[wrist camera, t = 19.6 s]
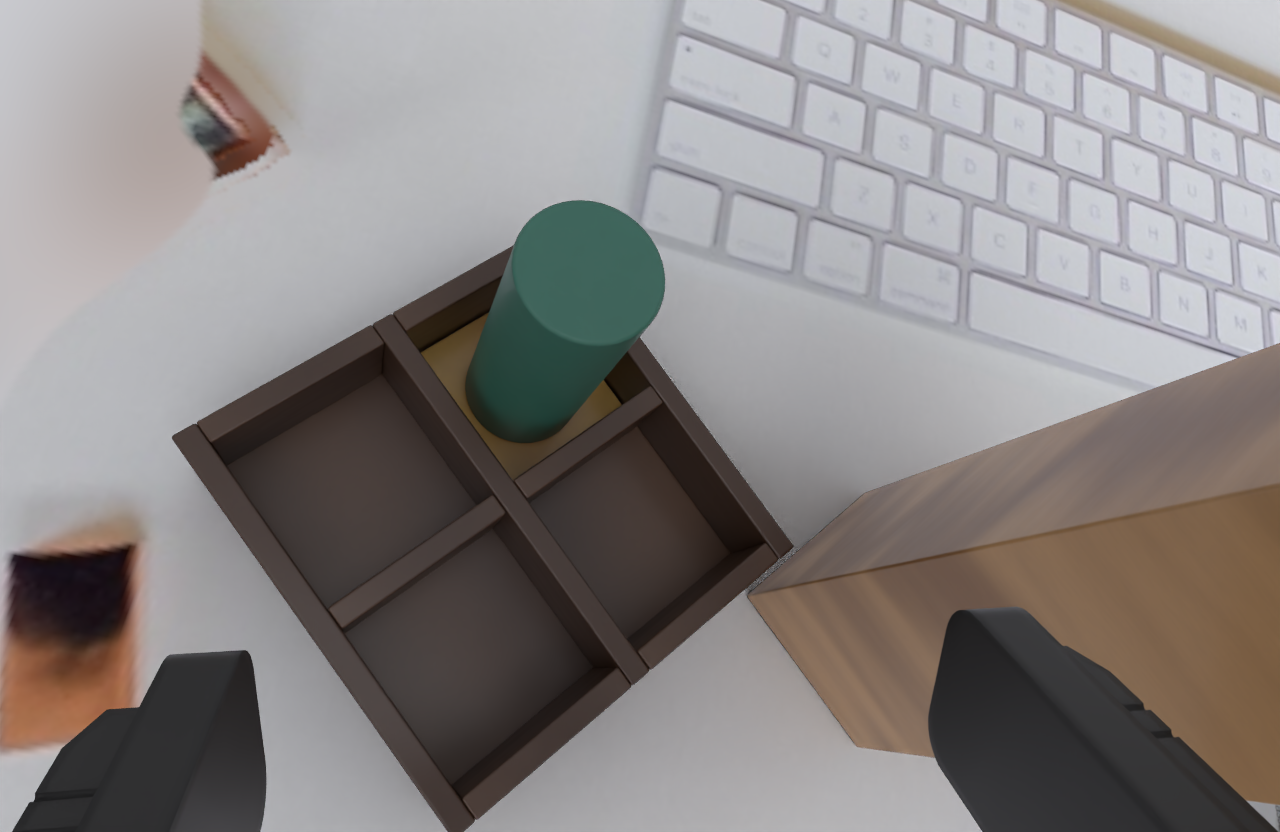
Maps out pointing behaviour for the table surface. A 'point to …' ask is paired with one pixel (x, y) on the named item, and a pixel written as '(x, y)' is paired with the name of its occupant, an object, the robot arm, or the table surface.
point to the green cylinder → (562, 318)
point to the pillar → (1071, 569)
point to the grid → (480, 539)
